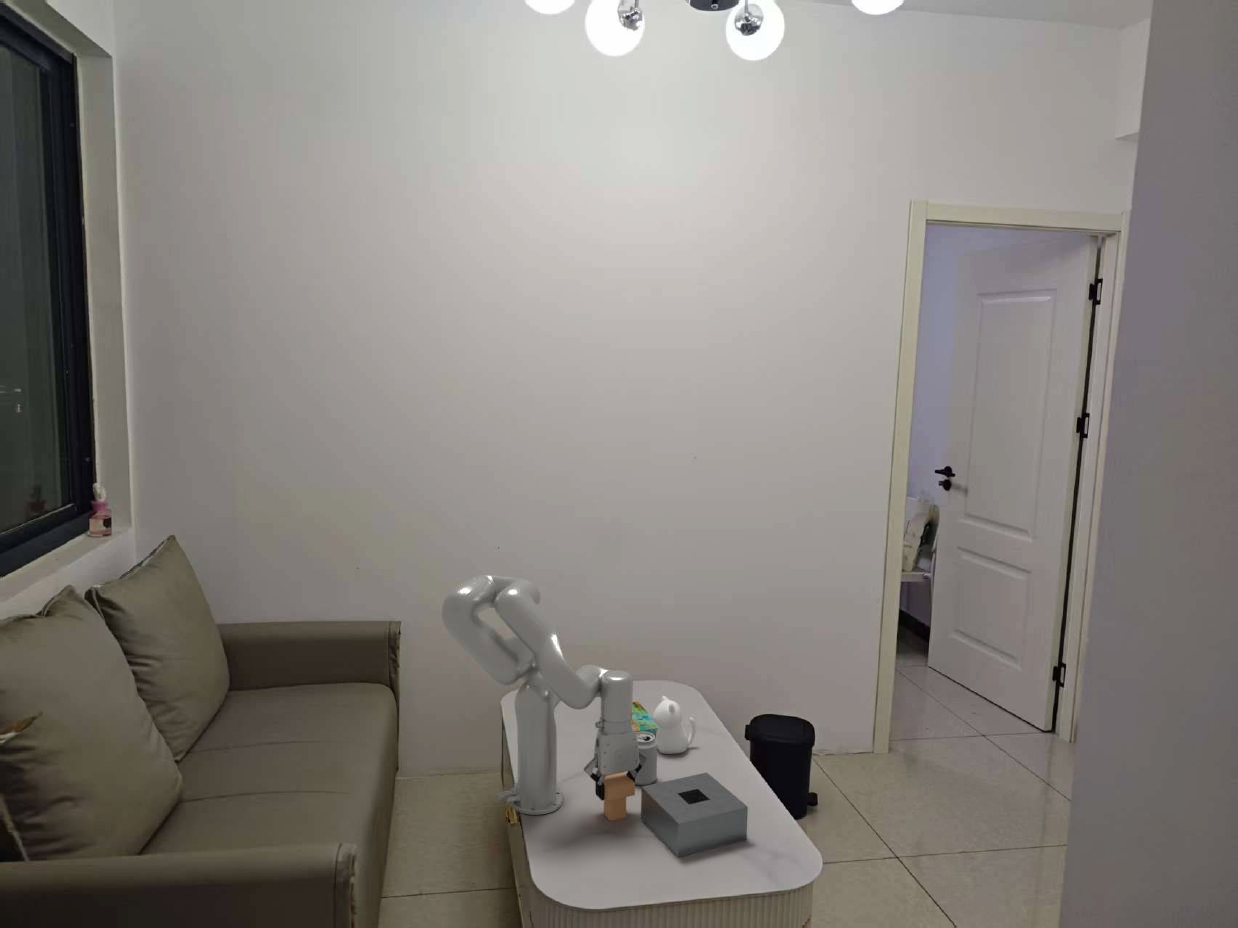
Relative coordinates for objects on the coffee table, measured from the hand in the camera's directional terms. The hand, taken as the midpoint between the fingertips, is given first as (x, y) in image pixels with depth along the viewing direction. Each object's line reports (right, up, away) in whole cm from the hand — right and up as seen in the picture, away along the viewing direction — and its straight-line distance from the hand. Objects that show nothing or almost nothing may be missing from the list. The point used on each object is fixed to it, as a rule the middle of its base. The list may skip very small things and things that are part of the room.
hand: (615, 793), depth 213 cm
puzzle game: (+4, +1, +50) cm, 50 cm away
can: (+7, -3, +18) cm, 20 cm away
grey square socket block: (+18, -6, -5) cm, 20 cm away
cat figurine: (+16, -1, +36) cm, 39 cm away
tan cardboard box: (0, -5, +1) cm, 5 cm away
